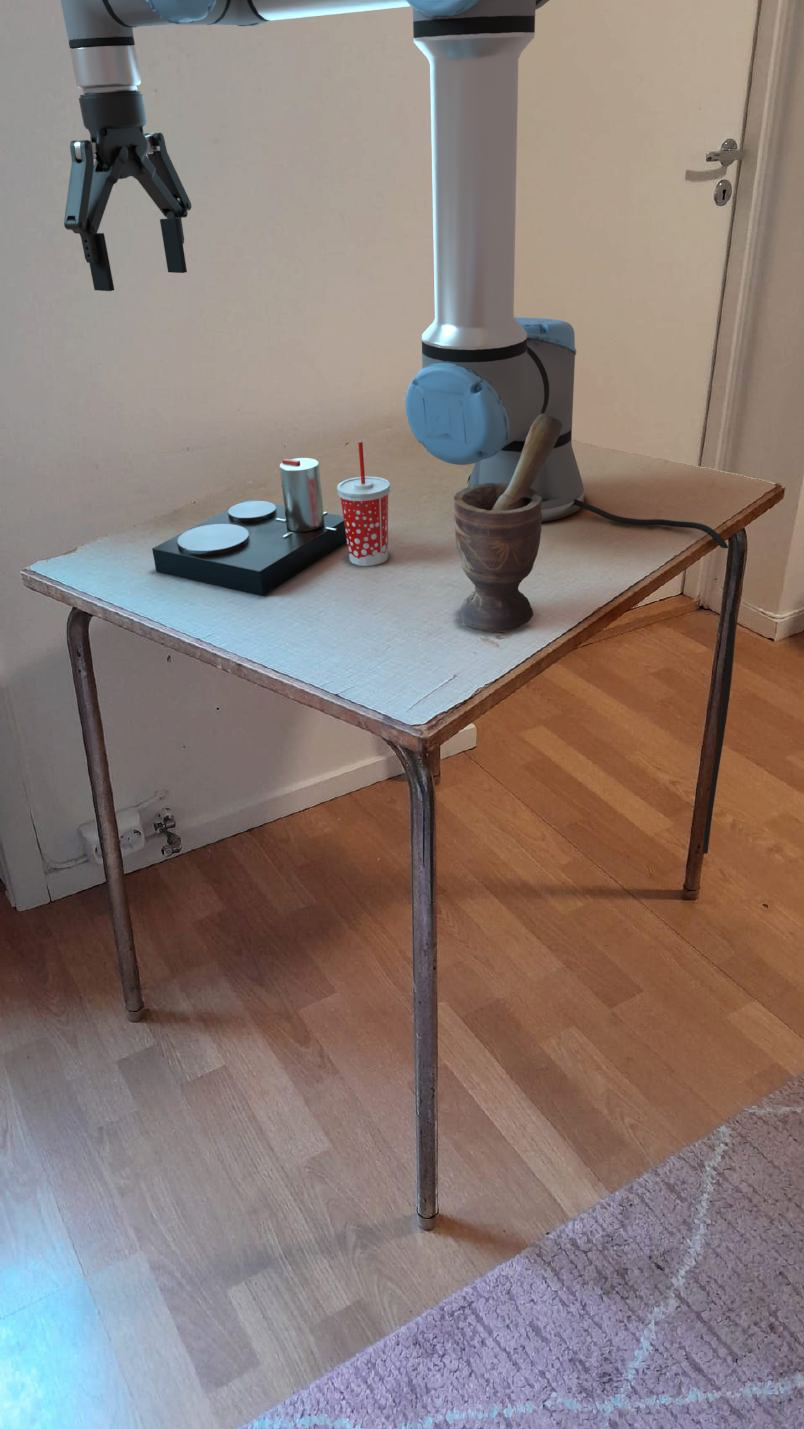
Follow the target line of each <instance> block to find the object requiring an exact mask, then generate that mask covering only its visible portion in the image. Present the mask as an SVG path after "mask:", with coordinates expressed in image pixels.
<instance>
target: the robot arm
mask: <svg viewBox="0 0 804 1429" xmlns="http://www.w3.org/2000/svg"><path fill="white" fill-rule="evenodd" d="M549 1H550V0H60V3H61V10H62V14H63V20H64V25H65V30H66V34H67V35H66V36H67V41H68V48H69V52H70V57H71V62H72V68H73V73H74V74H73V75H74V80H75V84H76V87H77V88H78V89H81V90H82V94H80V95H79V98H78V101H79V102H78V103H79V108H80V113H81V119H82V123H83V128H84V129H86V130H88V132H89V139H81V140H80V139H79V140H78V139H76V140H71V141H70V143H69V149H70V158H71V167H70V172H69V173H70V174H69V181H68V189H67V197H66V205H65V211H64V218H63V226H64V228H65V230H68V231H72V232H73V233H74V234H78V235H79V236H80V240H81V245H82V250H83V255H84V259H85V262H86V263H87V264H89V269H90V274H91V279H92V285H93V289H94V291H102V292H112V291H115V286H114V280H113V275H112V274H113V273H112V269H111V264H110V263H111V262H110V258H109V252H108V248H107V242H106V236H105V233H104V232H99V229H100V225H101V222H102V220H103V217H104V214H105V212H106V208H107V205H108V202H109V199H110V196H111V193H112V190H113V187H114V185H115V184H117V183H118V181H119V180H122V179H128V178H133V179H135V180H137V181H138V183H139V185H141V187H142V188H143V189H144V191H145V192H146V193H147V195H148V196H149V198H150V199H151V200H152V202H153V203H154V205H156V207H157V208H158V209H159V211H160V212H161V213H162V215H163V216H164V217H165V218H160V219H159V224H160V229H161V236H162V242H163V249H164V256H165V262H166V268H167V273H175V274H176V273H177V274H186V273H187V272H188V269H187V263H186V262H187V261H186V255H185V249H184V244H185V234H184V228H183V220H182V219H185V218H187V217H188V214H189V213H188V211H190V210H192V203H191V200H190V197H189V195H188V194H187V191H186V189H185V187H184V185H183V183H182V181H181V179H180V176H179V174H178V172H177V170H176V168H175V166H174V164H173V162H172V160H171V157H170V155H169V153H168V149H167V146H166V141H165V136H164V135H163V134H164V133H162V132H144V126H146V125H147V123H148V120H147V113H146V106H145V100H144V94H143V93H142V91H140V90H139V91H138V87H137V86H140V85H141V83H142V79H141V73H140V67H139V62H138V57H137V49H136V43H135V37H134V28H138V27H139V28H140V27H152V26H165V25H180V26H181V25H183V26H185V25H187V26H190V25H191V26H193V25H195V26H196V25H198V26H199V25H200V26H202V25H203V26H204V25H206V26H212V25H221V26H222V25H223V26H229V25H230V26H238V27H254V26H257V25H262V24H266V23H267V22H273V21H280V20H281V21H282V20H291V19H300V18H302V19H303V18H311V17H318V16H330V15H331V16H332V15H339V14H348V13H359V12H367V11H377V10H379V11H380V10H386V9H388V10H389V9H397V8H407V7H412V31H413V34H412V35H413V36H412V37H413V43H414V44H415V45H416V47H417V48H418V49H419V50H420V52H422V53H423V55H424V56H425V57H426V59H427V60H428V63H429V81H430V82H429V83H430V84H429V85H430V87H429V88H430V127H431V129H430V130H431V131H430V133H431V134H430V136H431V178H432V179H431V180H432V181H431V182H432V183H431V184H432V230H433V232H432V233H433V235H432V236H433V278H434V279H433V280H434V281H433V282H434V284H433V286H434V287H433V288H434V290H433V291H434V320H433V322H432V323H431V324H430V325H429V326H428V327H427V329H425V330H424V332H423V333H422V334H421V364H422V365H421V367H422V368H421V369H420V370H418V372H416V374H415V376H414V378H412V380H411V381H410V384H409V385H408V387H407V390H406V394H405V404H404V407H405V408H404V409H405V415H406V419H407V423H408V426H409V428H410V431H411V432H412V434H413V436H414V438H415V439H416V440H417V442H418V443H419V444H421V445H422V446H423V447H424V449H426V452H428V453H429V454H430V455H431V456H433V457H434V458H436V459H438V460H440V461H442V462H445V463H447V464H451V465H457V466H466V465H467V466H468V465H473V467H472V470H471V472H470V474H469V476H468V478H467V482H466V484H467V487H470V486H474V485H479V484H486V483H498V484H499V483H508V484H510V482H511V479H512V477H513V475H514V472H515V469H516V467H517V464H518V462H519V459H520V457H521V453H522V450H523V447H524V445H525V441H526V438H527V435H528V433H529V430H530V428H531V426H532V424H533V422H534V420H535V419H536V418H537V417H538V416H539V415H540V414H543V413H544V414H548V415H550V416H553V417H555V418H557V419H558V420H560V422H561V423H562V428H561V431H560V435H559V438H558V440H557V442H556V444H555V446H554V448H553V450H552V451H551V453H550V455H549V456H548V458H547V459H546V461H545V462H544V464H543V465H542V467H541V469H540V470H539V472H538V475H537V476H536V478H535V480H534V482H533V483H532V485H531V487H530V488H532V489H534V490H536V491H537V492H538V493H539V494H540V497H541V498H542V504H541V513H542V520H541V523H545V522H550V521H555V520H560V519H563V518H566V517H568V516H571V515H573V514H575V513H577V512H578V511H579V510H581V509H583V510H587V511H588V512H592V513H593V514H596V515H598V516H600V517H603V518H604V519H606V520H609V521H612V522H615V523H619V524H625V525H634V526H665V527H672V528H673V527H674V528H682V529H683V528H684V529H685V528H686V529H695V530H699V531H702V532H703V533H705V534H707V535H708V536H710V537H711V538H712V539H713V540H714V542H716V544H718V546H719V547H720V548H722V549H729V545H728V544H727V542H726V541H725V539H724V538H723V537H722V536H721V535H720V534H719V533H718V531H716V530H714V529H713V528H711V526H708V525H706V524H703V523H699V522H694V521H693V522H692V521H681V520H672V519H671V520H670V519H662V518H646V519H643V518H630V517H624V516H619V515H616V514H612V513H610V512H608V511H605V510H603V509H601V508H599V507H597V506H594V505H592V504H590V503H587V502H585V501H584V500H585V487H584V483H583V479H582V476H581V473H580V469H579V465H578V462H577V459H576V456H575V453H574V448H573V445H572V440H573V438H572V434H573V414H574V412H573V411H574V391H575V390H574V389H575V388H574V387H575V367H576V366H575V365H576V364H575V363H576V355H577V348H576V341H575V339H576V338H575V329H574V327H573V325H572V324H570V323H569V322H567V321H565V320H560V319H552V318H542V317H540V318H539V317H515V312H514V311H515V267H516V266H515V262H516V260H515V259H516V258H515V257H516V212H517V211H516V210H517V205H516V203H517V157H518V156H517V154H518V153H517V152H518V149H517V148H518V105H519V104H518V103H519V102H518V100H519V59H520V57H521V54H522V53H523V52H524V50H525V49H527V47H528V46H529V44H530V43H531V42H532V40H533V39H535V37H536V36H535V34H536V30H535V29H536V10H539V9H540V8H542V7H543V6H544V5H545V4H547V3H548V2H549ZM94 160H95V161H94ZM467 487H466V488H467ZM727 636H728V637H727V640H728V641H727V656H726V666H725V679H724V687H723V697H722V705H721V712H720V719H719V727H718V733H717V739H716V746H715V753H714V759H713V765H712V773H711V779H710V780H711V781H710V787H709V794H708V802H707V807H706V815H705V824H704V832H703V833H704V834H703V841H702V842H703V843H702V851H701V852H702V854H703V855H705V854H706V855H707V854H708V853H709V845H710V836H711V827H712V822H713V821H712V820H713V813H714V805H715V800H716V790H717V784H718V778H719V773H720V772H719V771H720V764H721V758H722V751H723V746H724V738H725V731H726V725H727V717H728V712H729V704H730V695H731V686H732V679H733V668H734V657H735V640H736V639H735V638H736V605H734V606H733V607H732V609H731V610H730V611H729V613H728V635H727Z"/></svg>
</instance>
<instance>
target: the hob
mask: <svg viewBox="0 0 804 1429" xmlns="http://www.w3.org/2000/svg"><path fill="white" fill-rule="evenodd" d="M249 501H255V499H254V500H253V499H249V498H248V499H245V500H243V501H241V502H240V503H243V502H249ZM273 504H274V505H275V506H276V510H277V511H276V514H275V515H274V516H272V517H271V518H268V519H265V520H262V521H257V522H237V521H234V520H231V519H230V518H229V516H228V510H229V509H230V508H228V509H226V510H224V511H222V512H219V513H218V514H216V515H214V516H212V517H210V518H208V519H206V520H204V521H202V522H201V523H199V524H197V525H195V526H193V527H191V528H189V529H186V530H185V531H183V532H181V533H178V535H175V536H174V537H172V538H169V539H167V540H165V541H164V542H162V543H160V544H158V545H156V546H153V547H152V548H151V550H152V556H153V561H154V566H155V571H156V573H160V574H164V575H168V576H172V577H173V576H174V577H178V578H182V579H186V580H191V581H195V582H200V583H204V584H207V585H208V584H209V585H213V586H218V587H222V588H227V589H229V590H235V591H239V592H243V593H248V594H252V595H255V596H256V595H257V596H261V597H264V596H266V595H267V594H268V593H271V592H272V591H273V590H275V589H277V588H278V587H281V585H283V584H285V583H287V582H288V581H289V580H291V579H292V578H295V577H296V576H297V575H299V574H301V573H302V572H303V571H305V570H306V569H308V568H310V567H312V566H313V565H314V564H316V563H318V562H319V561H321V560H323V559H324V558H326V557H327V556H329V555H330V554H332V553H333V552H335V551H336V550H338V549H340V548H342V547H343V546H344V545H346V544H347V538H346V531H345V525H344V518H343V515H340V514H333V513H328V511H323V512H324V525H323V526H322V527H321V528H319V529H316V530H312V531H305V532H298V531H292V530H290V529H288V528H287V526H286V518H285V509H284V504H283V505H282V504H278V503H273ZM212 524H233V525H238V526H241V527H244V528H245V529H247V530H248V532H249V541H248V543H247V544H245V545H244V546H243V547H241V548H239V549H237V550H234V551H231V552H228V553H223V554H218V555H205V556H202V555H192V554H187V553H185V552H183V551H181V550H180V549H179V548H178V544H177V540H178V538H179V536H180V535H181V534H183V533H184V532H186V531H188V530H191V529H194V528H197V527H200V526H205V525H212Z"/></svg>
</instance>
